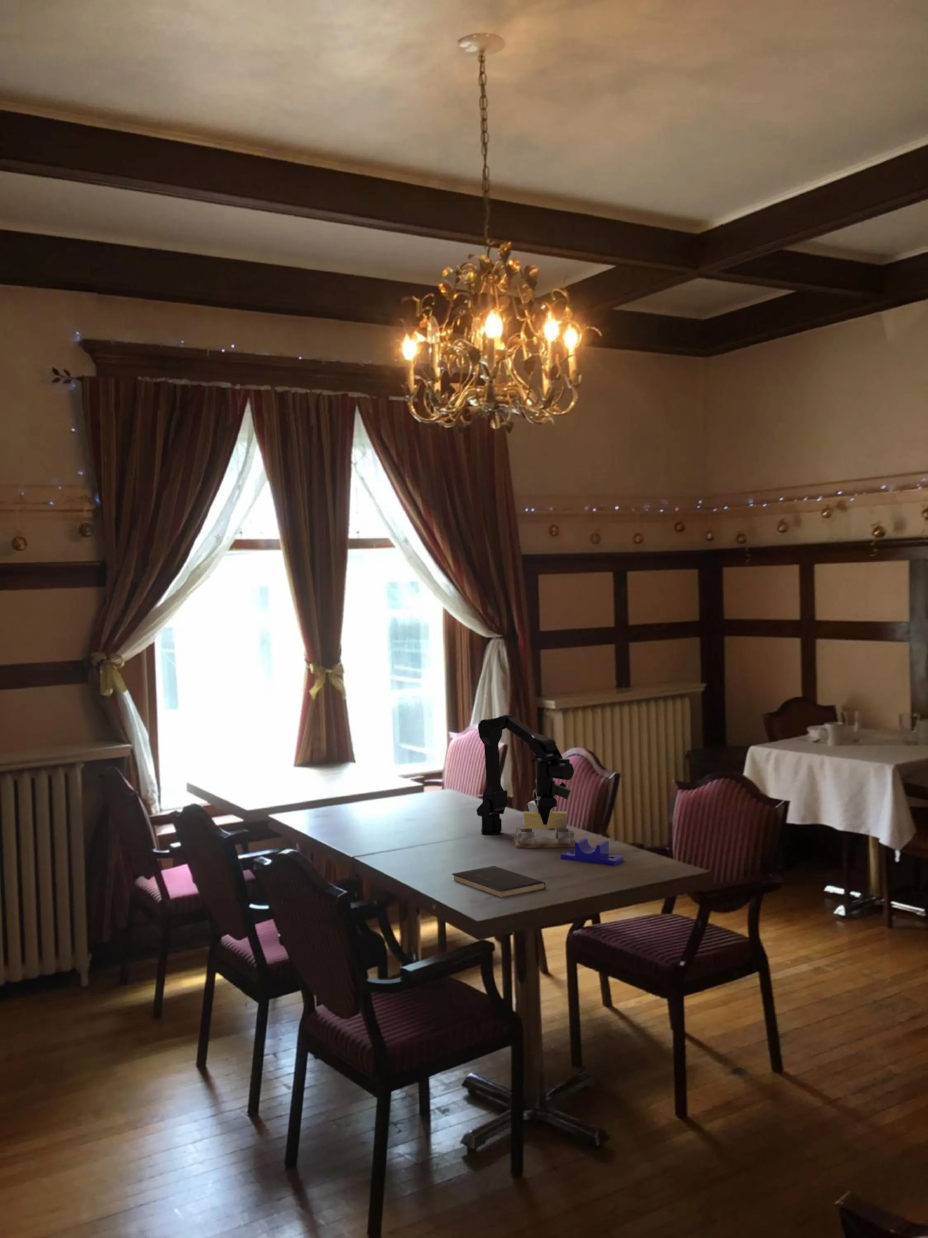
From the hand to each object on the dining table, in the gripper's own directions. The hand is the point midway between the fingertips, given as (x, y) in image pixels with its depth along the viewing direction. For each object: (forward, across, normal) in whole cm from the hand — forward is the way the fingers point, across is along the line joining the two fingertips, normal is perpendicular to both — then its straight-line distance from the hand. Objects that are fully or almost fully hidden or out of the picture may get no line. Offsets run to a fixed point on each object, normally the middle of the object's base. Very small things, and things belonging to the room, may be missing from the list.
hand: (544, 823), depth 361 cm
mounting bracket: (+7, -23, -12) cm, 27 cm away
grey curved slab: (+7, +32, -3) cm, 33 cm away
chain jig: (+7, 0, 0) cm, 7 cm away
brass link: (+1, 0, 0) cm, 1 cm away
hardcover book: (+7, -50, +19) cm, 54 cm away
